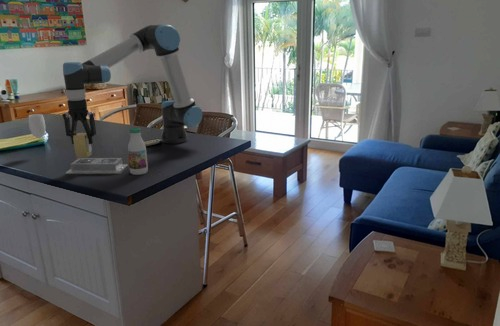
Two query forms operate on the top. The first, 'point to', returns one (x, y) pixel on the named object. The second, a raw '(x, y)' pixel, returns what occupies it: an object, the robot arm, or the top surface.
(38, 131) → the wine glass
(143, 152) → the milk bottle
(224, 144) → the top surface
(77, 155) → the block
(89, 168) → the butter dish
